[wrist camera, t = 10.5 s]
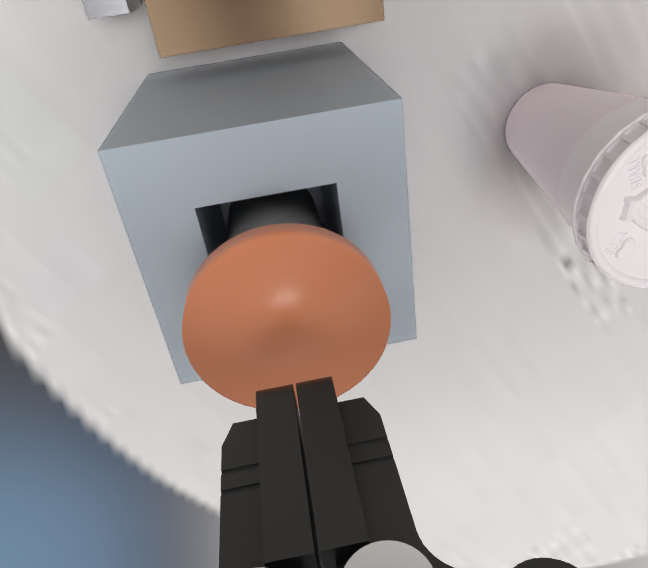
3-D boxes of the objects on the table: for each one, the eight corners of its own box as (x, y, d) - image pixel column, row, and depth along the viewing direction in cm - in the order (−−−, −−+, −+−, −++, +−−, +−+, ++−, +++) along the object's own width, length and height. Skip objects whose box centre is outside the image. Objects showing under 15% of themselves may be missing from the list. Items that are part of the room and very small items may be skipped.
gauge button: (335, 132, 18) (383, 219, 12) (352, 265, 21) (397, 389, 15) (180, 158, 18) (154, 261, 12) (217, 290, 21) (210, 426, 15)
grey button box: (341, 41, 23) (401, 98, 15) (360, 216, 28) (416, 338, 19) (148, 74, 23) (97, 151, 15) (197, 246, 27) (180, 383, 19)
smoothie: (592, 184, 28) (850, 358, 16) (469, 193, 28) (644, 381, 16) (625, 47, 25) (977, 141, 13) (486, 53, 24) (724, 159, 12)
